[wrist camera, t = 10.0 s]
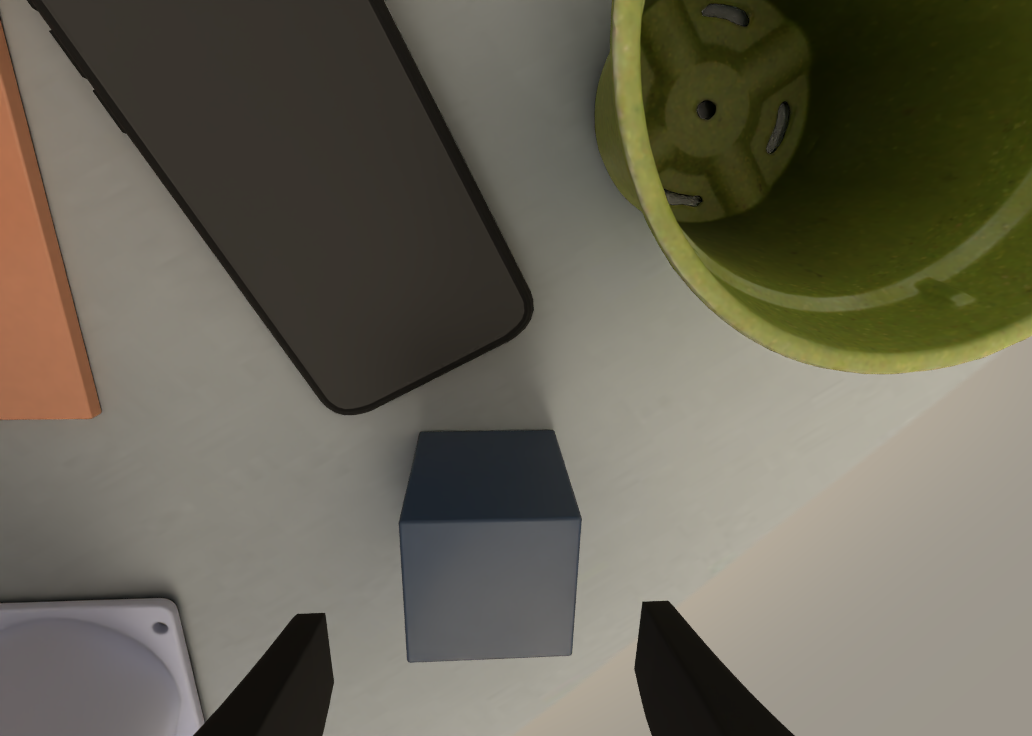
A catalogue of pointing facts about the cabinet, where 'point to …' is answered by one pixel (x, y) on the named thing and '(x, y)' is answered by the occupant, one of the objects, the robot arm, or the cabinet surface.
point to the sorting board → (34, 285)
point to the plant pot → (835, 170)
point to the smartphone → (310, 179)
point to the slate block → (489, 547)
